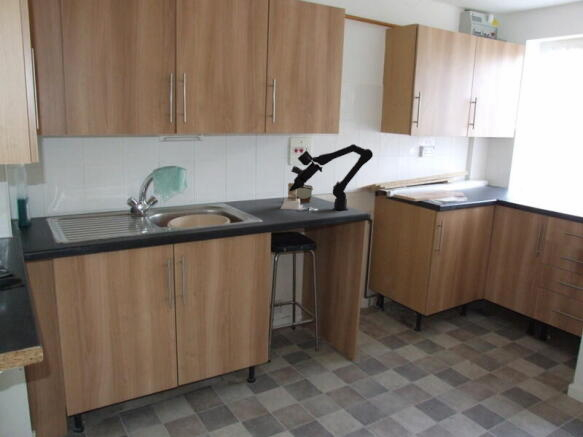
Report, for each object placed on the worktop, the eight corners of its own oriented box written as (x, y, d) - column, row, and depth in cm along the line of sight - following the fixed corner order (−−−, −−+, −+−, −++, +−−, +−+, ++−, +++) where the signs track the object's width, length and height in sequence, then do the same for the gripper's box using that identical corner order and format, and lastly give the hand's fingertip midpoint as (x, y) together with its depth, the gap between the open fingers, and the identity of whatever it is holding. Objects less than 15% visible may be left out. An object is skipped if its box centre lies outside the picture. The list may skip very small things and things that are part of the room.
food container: (315, 201, 299) (316, 185, 297) (312, 203, 293) (312, 186, 291) (297, 199, 304) (297, 183, 302) (293, 201, 298) (293, 185, 296)
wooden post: (296, 201, 281) (296, 183, 278) (295, 203, 276) (296, 184, 274) (288, 201, 281) (289, 182, 279) (287, 203, 277) (288, 184, 274)
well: (303, 205, 285) (303, 198, 284) (301, 209, 273) (301, 202, 272) (283, 205, 286) (283, 197, 285) (280, 209, 274) (280, 201, 273)
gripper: (301, 159, 282) (282, 177, 286) (298, 163, 264) (278, 182, 268) (314, 173, 283) (295, 191, 287) (312, 177, 265) (292, 196, 269)
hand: (290, 190), depth 277 cm, fingers closed on wooden post, 4 cm apart
